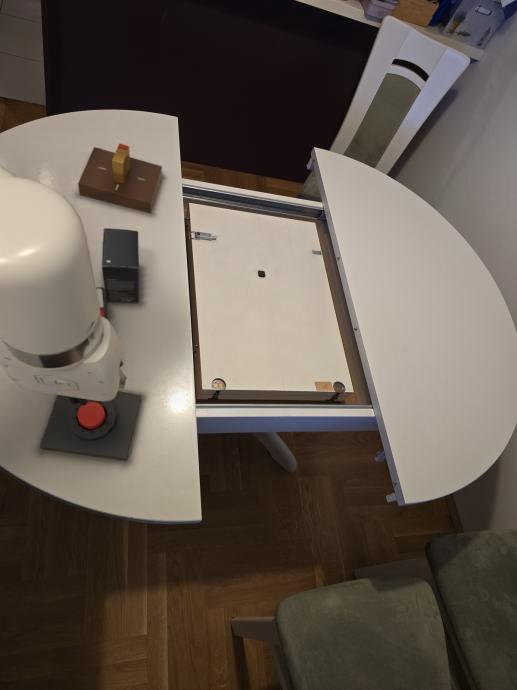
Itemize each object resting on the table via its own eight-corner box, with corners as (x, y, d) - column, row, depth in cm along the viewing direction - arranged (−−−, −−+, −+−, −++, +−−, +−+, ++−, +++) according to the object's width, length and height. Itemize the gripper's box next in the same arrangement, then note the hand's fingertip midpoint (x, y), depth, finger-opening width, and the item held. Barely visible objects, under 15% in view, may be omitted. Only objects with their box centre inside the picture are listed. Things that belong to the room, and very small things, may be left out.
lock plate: (80, 195, 78) (77, 182, 75) (95, 158, 83) (93, 146, 80) (150, 213, 81) (150, 202, 78) (161, 177, 86) (162, 165, 83)
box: (139, 303, 71) (138, 268, 62) (106, 302, 70) (100, 266, 60) (139, 267, 75) (139, 229, 65) (108, 266, 73) (103, 226, 64)
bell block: (42, 449, 57) (36, 444, 54) (64, 386, 62) (59, 377, 58) (126, 461, 59) (125, 456, 56) (141, 399, 64) (141, 391, 61)
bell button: (75, 427, 56) (74, 424, 55) (83, 403, 58) (81, 399, 56) (101, 430, 57) (100, 428, 55) (108, 407, 59) (107, 404, 57)
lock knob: (123, 184, 78) (122, 162, 74) (113, 181, 78) (111, 159, 73) (130, 167, 81) (129, 145, 76) (120, 164, 80) (119, 142, 76)
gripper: (-73, 344, 29) (4, 412, 44) (135, 381, 31) (137, 432, 47) (-29, 264, 32) (28, 353, 48) (155, 303, 35) (151, 376, 51)
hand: (82, 392), depth 48 cm, fingers closed
